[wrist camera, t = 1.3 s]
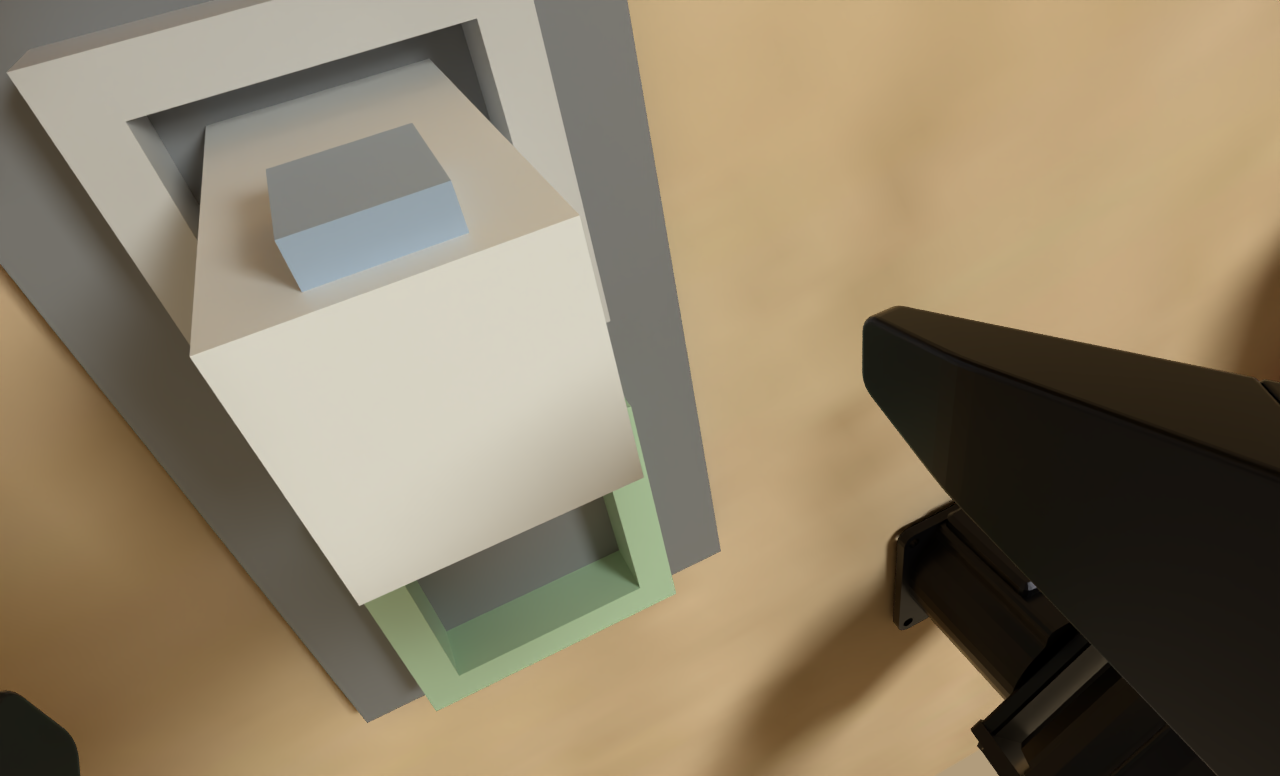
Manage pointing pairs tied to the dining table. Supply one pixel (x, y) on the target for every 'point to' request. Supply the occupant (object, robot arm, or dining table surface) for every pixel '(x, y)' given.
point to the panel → (165, 278)
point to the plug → (403, 326)
